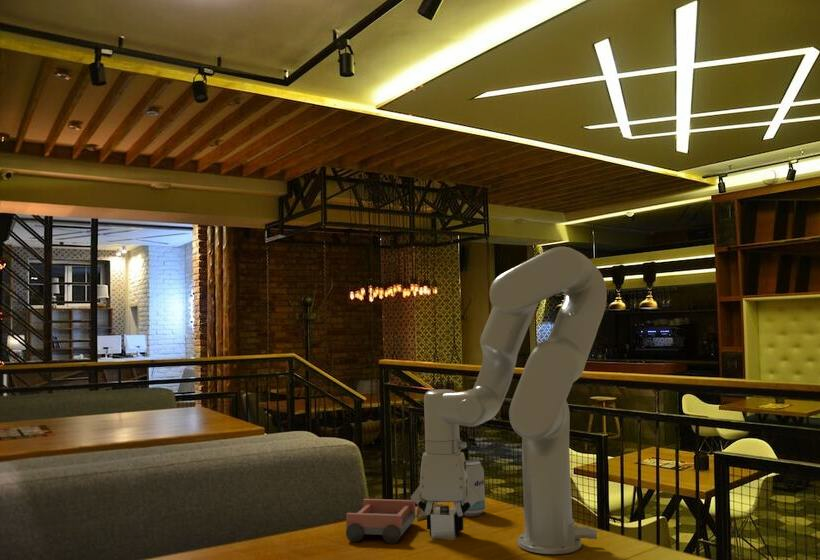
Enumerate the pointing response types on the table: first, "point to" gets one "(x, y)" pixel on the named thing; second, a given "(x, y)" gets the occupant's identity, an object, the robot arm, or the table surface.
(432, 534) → the cube with metal knob
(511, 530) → the table surface
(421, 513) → the shard
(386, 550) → the table surface
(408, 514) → the chassis
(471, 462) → the beverage can
